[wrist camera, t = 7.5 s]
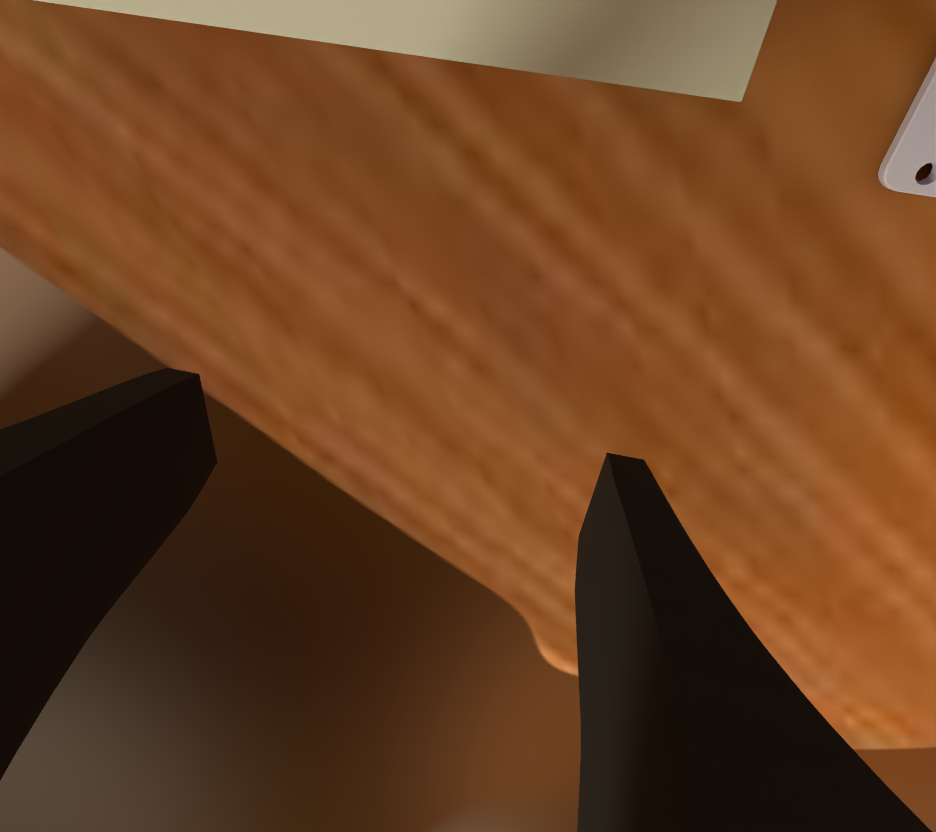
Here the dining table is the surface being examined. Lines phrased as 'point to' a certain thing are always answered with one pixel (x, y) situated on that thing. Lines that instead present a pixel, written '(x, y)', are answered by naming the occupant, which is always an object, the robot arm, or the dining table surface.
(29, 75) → the dining table surface
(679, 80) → the lid
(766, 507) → the dining table surface
